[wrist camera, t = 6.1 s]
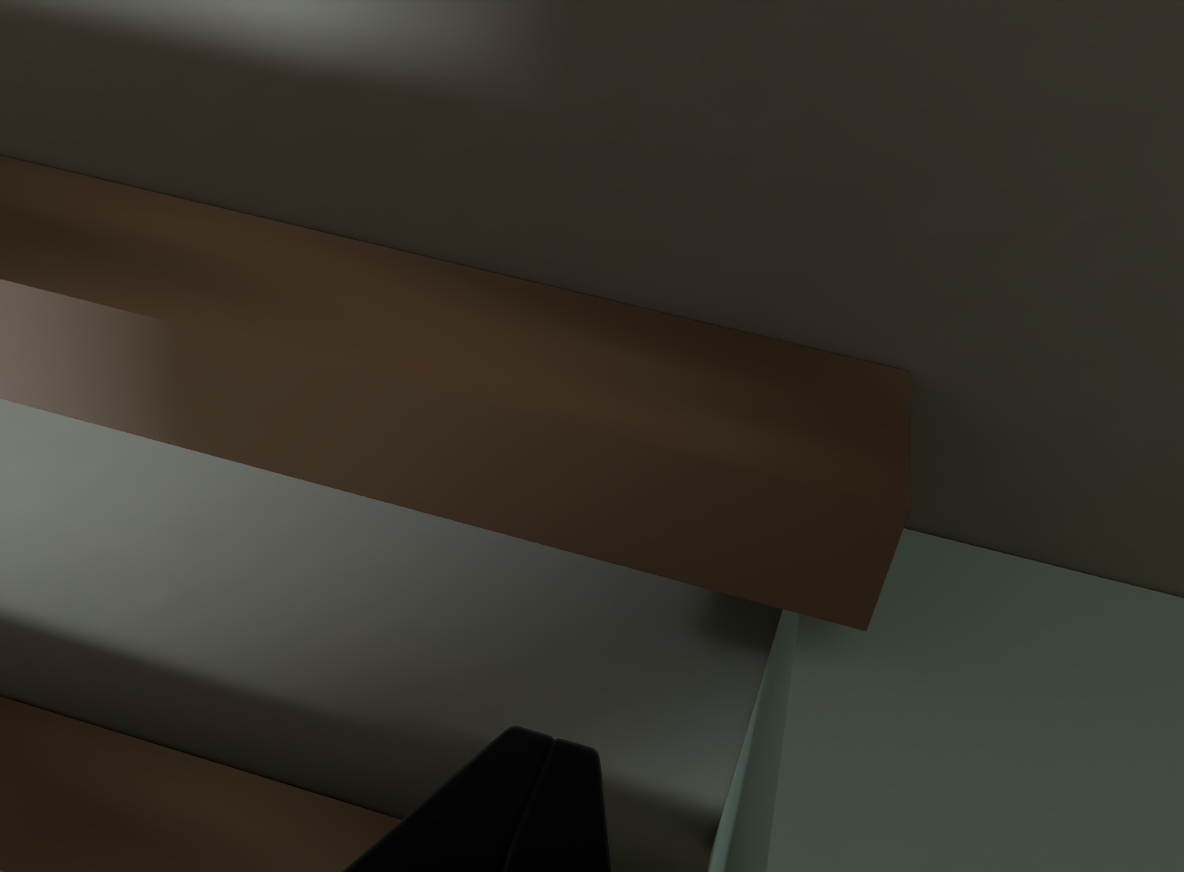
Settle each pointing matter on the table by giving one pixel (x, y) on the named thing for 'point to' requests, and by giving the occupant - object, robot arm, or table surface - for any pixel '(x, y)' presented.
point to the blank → (968, 727)
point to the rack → (409, 458)
